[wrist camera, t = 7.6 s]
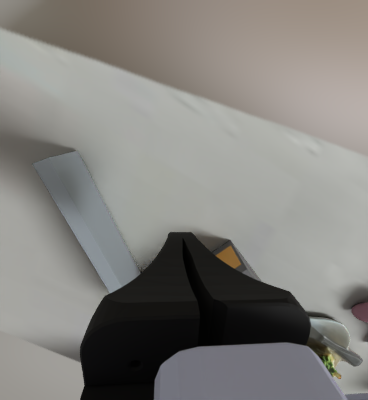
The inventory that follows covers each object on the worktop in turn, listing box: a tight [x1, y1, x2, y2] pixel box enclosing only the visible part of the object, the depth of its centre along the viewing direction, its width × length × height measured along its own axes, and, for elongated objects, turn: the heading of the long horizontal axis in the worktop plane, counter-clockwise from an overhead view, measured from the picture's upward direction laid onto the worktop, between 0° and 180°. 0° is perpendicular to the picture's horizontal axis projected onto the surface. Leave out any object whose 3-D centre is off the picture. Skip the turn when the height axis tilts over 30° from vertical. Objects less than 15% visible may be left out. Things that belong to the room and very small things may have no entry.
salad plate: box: [306, 316, 363, 379], centre depth 28 cm, size 19×18×5 cm
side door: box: [32, 151, 141, 293], centre depth 19 cm, size 17×2×5 cm, turn 19°
